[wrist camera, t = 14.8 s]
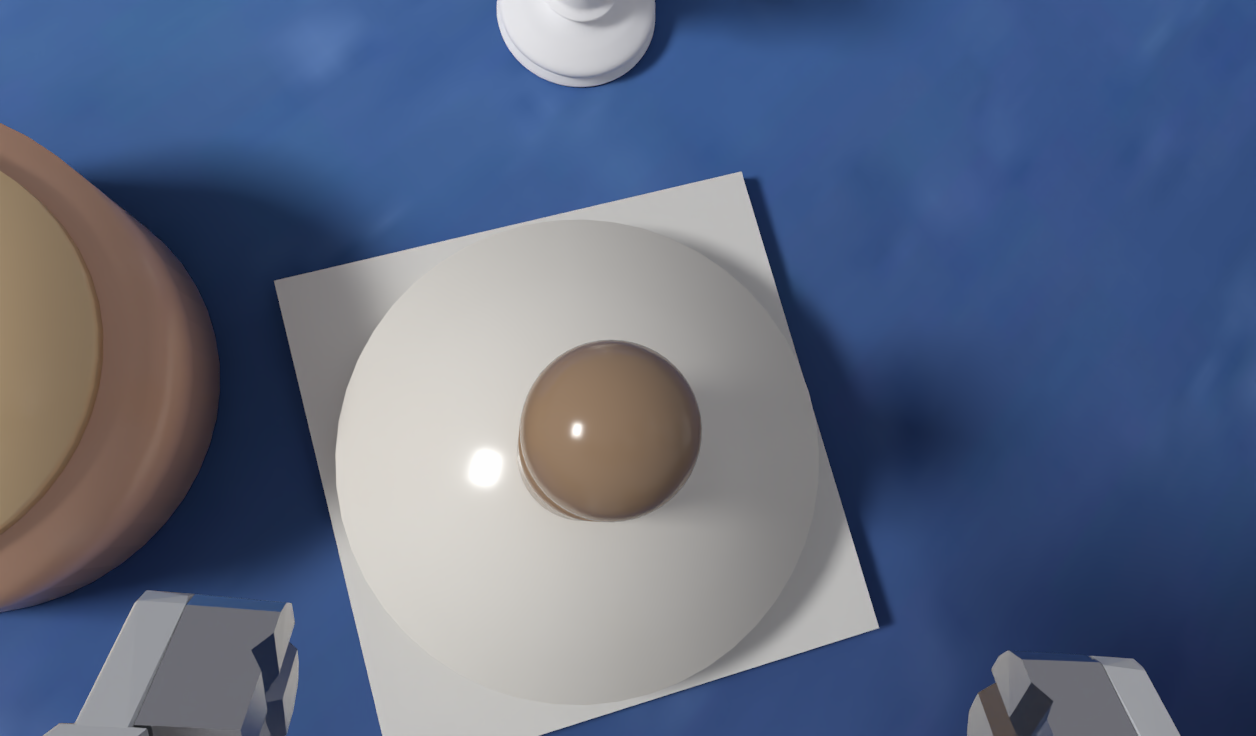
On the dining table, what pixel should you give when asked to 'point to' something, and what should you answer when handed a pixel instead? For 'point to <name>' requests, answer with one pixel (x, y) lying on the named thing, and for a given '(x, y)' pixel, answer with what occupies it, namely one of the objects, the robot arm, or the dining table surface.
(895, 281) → the dining table surface
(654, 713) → the dining table surface
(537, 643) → the lid
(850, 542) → the mat
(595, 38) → the chess piece
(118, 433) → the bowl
